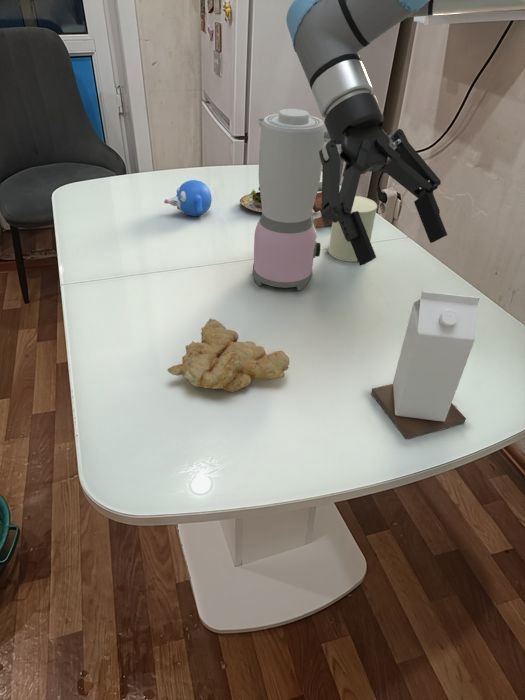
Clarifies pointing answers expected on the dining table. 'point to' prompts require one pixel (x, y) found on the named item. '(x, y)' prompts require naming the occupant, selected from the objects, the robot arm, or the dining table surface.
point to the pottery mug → (317, 207)
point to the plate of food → (252, 201)
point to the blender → (288, 197)
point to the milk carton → (434, 354)
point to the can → (337, 241)
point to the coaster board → (414, 425)
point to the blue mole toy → (192, 198)
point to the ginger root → (228, 360)
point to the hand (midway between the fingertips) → (405, 250)
